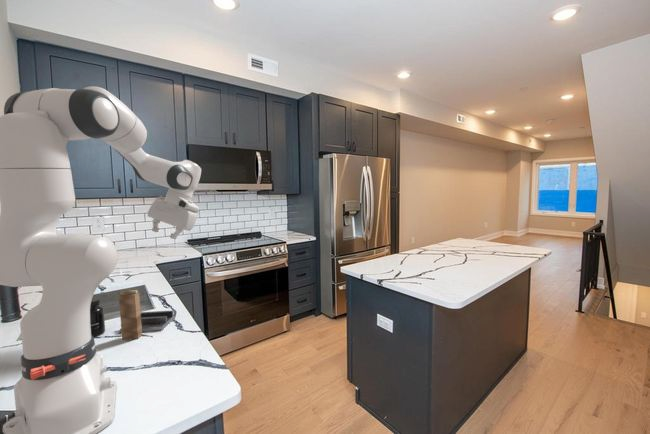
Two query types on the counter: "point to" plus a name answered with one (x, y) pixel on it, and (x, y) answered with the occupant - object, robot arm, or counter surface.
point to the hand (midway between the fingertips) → (163, 235)
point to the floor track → (155, 320)
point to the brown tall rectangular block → (130, 314)
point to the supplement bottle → (97, 318)
